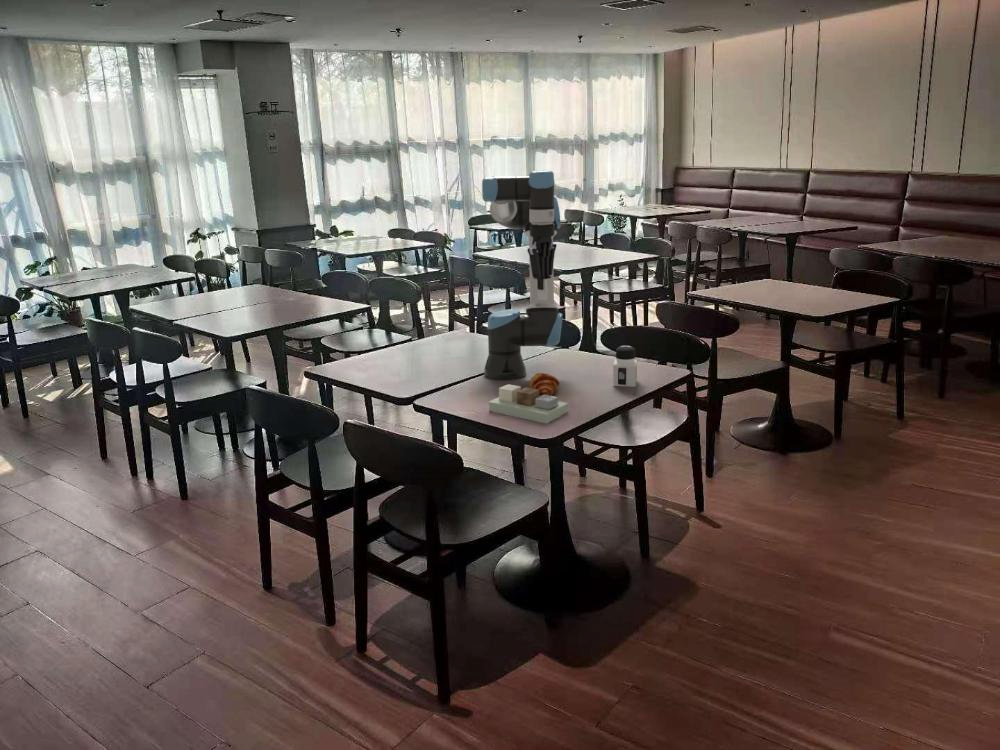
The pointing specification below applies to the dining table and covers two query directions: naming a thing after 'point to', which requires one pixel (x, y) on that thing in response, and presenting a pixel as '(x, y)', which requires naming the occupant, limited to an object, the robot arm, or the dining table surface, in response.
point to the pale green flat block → (528, 410)
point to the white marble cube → (546, 402)
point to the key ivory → (508, 393)
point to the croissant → (544, 384)
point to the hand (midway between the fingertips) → (542, 299)
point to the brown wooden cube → (527, 396)
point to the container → (625, 367)
